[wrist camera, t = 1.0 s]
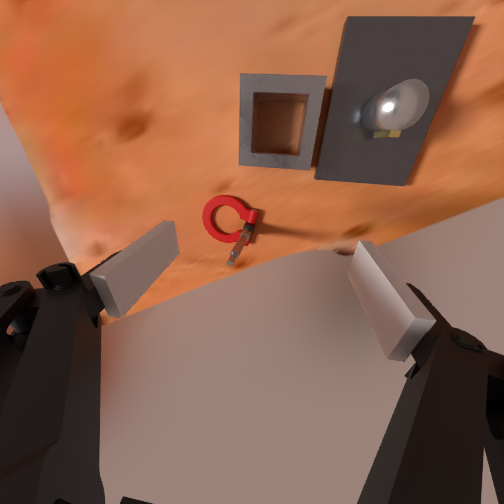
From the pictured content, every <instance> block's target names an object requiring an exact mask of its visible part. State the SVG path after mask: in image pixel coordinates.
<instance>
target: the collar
mask: <svg viewBox="0 0 504 504" xmlns="http://www.w3.org/2000/svg"><path fill="white" fill-rule="evenodd" d="M326 78H327V76H316V75H280V74H243V73H240V119H239V165H243V166H257V167H270V168H284V169H298V170H310V166H311V160H312V155H313V149H314V144H315V138H316V133H317V127H318V122H319V116H320V111H321V105H322V100H323V94H324V89H325V83H326ZM258 100H261V101H286V102H305V103H304V110H303V117H302V124H301V130H300V137H299V144H298V151H297V154H287V153H271V152H256V135H257V117H258Z"/></svg>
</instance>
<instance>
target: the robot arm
mask: <svg viewBox="0 0 504 504" xmlns="http://www.w3.org/2000/svg"><path fill="white" fill-rule="evenodd" d="M178 255H179V247H178V241H177V235H176V229H175V223H174V221H163V222H162V223H160V224H159V225H157V226H156V227H155V228H153V229H152V230H150V231H149V232H148V233H146V234H145V235H143V236H142V237H140V238H139V239H138V240H136V241H135V242H133V243H132V244H131V245H129V246H128V247H126V248H125V249H124V250H121V251H119V252H116V253H114V254H112V255H111V256H109V257H108V258H106V260H104V261H102V262H101V263H100V264H98V265H96V266H95V267H93V268H92V269H91V270H89V271H88V272H86V273H85V274H83V275H82V276H80V274H79V272H78V270H77V268H76V266H75V264H73V263H68V262H66V263H58V264H55V265H51V266H49V267H46V268H44V269H42V270H41V271H39V272H38V273H37V274H36V276H37V277H38V279H39V281H40V282H41V284H42V285H43V287H44V288H41V289H34V288H33V287H32V285H31V284H30V282H28V281H16V282H10V283H8V284H4V285H2V286H1V287H0V504H105V495H104V488H103V484H102V481H101V477H100V471H99V445H100V440H99V439H100V380H101V375H100V374H101V316H100V314H99V313H100V312H101V311H102V310H103V309H104V308H105V309H106V312H107V314H108V316H112V317H118V318H123V317H124V315H125V314H126V313H127V312H128V311H129V310H130V309H131V307H132V306H133V305H134V304H135V303H136V302H137V301H138V300H139V298H140V297H141V296H142V295H143V294H144V293H145V292H146V291H147V289H148V288H149V287H150V286H151V285H152V284H153V283H154V282H155V280H156V279H157V278H158V277H159V276H160V275H161V274H162V273H163V271H164V270H165V269H166V268H167V267H168V266H169V265H170V264H171V262H172V261H173V260H174V259H175V258H176V257H177V256H178ZM347 274H348V276H349V278H350V280H351V282H352V285H353V287H354V289H355V291H356V293H357V295H358V298H359V299H360V302H361V304H362V306H363V308H364V310H365V313H366V315H367V317H368V319H369V321H370V323H371V326H372V328H373V330H374V332H375V334H376V336H377V339H378V341H379V343H380V345H381V347H382V350H383V352H384V354H385V356H386V358H387V359H390V360H397V361H403V362H405V360H406V359H407V358H408V357H409V355H410V354H412V356H413V358H414V360H415V361H416V363H415V364H414V365H413V366H412V367H411V368H410V370H409V371H408V372H407V373H406V374H405V377H407V381H406V383H405V385H404V388H403V390H402V393H401V396H400V398H399V400H398V403H397V405H396V408H395V410H394V413H393V415H392V418H391V420H390V423H389V425H388V428H387V430H386V433H385V435H384V438H383V440H382V443H381V445H380V447H379V450H378V452H377V455H376V457H375V460H374V463H373V465H372V467H371V470H370V472H369V475H368V477H367V480H366V483H365V485H364V487H363V490H362V492H361V495H360V497H359V500H358V502H357V504H481V490H482V472H483V452H484V448H485V452H486V456H487V460H488V464H489V468H490V472H491V476H492V480H493V483H494V487H495V491H496V495H497V499H498V503H499V504H504V355H501V354H498V353H496V352H493V351H490V350H487V348H486V347H485V346H484V344H483V343H482V342H481V341H479V340H478V339H477V338H476V337H474V336H472V335H470V334H469V333H467V332H465V331H462V330H460V329H458V328H453V327H452V326H450V324H449V323H448V322H447V321H446V319H445V318H444V317H443V316H442V315H441V314H440V313H439V311H438V310H437V309H436V308H435V307H434V306H432V304H431V302H429V300H428V299H426V297H425V296H424V295H423V293H422V292H421V291H420V290H419V289H417V288H415V287H414V286H413V285H412V284H409V283H405V282H404V281H403V280H402V278H401V277H400V276H399V275H398V273H397V272H396V271H395V270H394V269H393V267H392V266H391V265H390V264H389V263H388V262H387V260H386V259H385V258H384V257H383V255H382V254H381V253H380V252H379V251H378V249H377V248H376V247H375V246H374V244H373V243H372V242H371V241H361V240H359V242H358V245H357V248H356V250H355V253H354V256H353V259H352V261H351V264H350V267H349V269H348V272H347ZM9 325H10V326H11V327H12V328H13V329H14V331H13V332H12V333H11V334H10V335H8V334H7V333H6V332H7V331H6V330H7V328H8V326H9ZM120 504H152V503H148V502H144V501H140V500H136V499H132V498H128V497H123V498H122V500H121V502H120Z"/></svg>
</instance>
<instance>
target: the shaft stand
mask: <svg viewBox="0 0 504 504" xmlns="http://www.w3.org/2000/svg"><path fill="white" fill-rule="evenodd" d="M474 19H475V17H413V16H348V17H347V19H346V21H345V23H344V27H343V32H342V37H341V42H340V47H339V52H338V58H337V63H336V68H335V73H334V78H333V83H332V88H331V93H330V98H329V103H328V109H327V114H326V119H325V124H324V129H323V134H322V139H321V144H320V149H319V154H318V160H317V165H316V170H315V175H314V178H315V179H316V180H329V181H343V182H356V183H369V184H382V185H395V186H405V184H406V181H407V179H408V176H409V174H410V172H411V169H412V167H413V164H414V162H415V160H416V157H417V155H418V152H419V150H420V148H421V145H422V143H423V141H424V138H425V136H426V133H427V131H428V129H429V126H430V124H431V121H432V119H433V117H434V114H435V112H436V109H437V107H438V105H439V102H440V100H441V97H442V95H443V93H444V90H445V88H446V86H447V83H448V81H449V78H450V76H451V74H452V71H453V69H454V66H455V64H456V62H457V59H458V57H459V54H460V52H461V50H462V47H463V45H464V42H465V40H466V38H467V35H468V33H469V31H470V28H471V26H472V23H473V21H474Z"/></svg>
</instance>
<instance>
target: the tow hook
mask: <svg viewBox="0 0 504 504" xmlns="http://www.w3.org/2000/svg"><path fill="white" fill-rule="evenodd" d="M220 205H228V206H231V207H232V208H234V209H235V210H236V211H237V212H238V214H239V215H240V218H241V219H242V220H245V221H246V223H245V224H244V227H243V230H242V231H241V230H238V231H237V232H235V233H232V234H225V233H222V232H220V231H219V230H218V229H217V228H216V227H215V226H214V224H213V222H212V213H213V211H214V209H215V208H216V207H218V206H220ZM258 212H259V211H258V210H256V209H248V208H246V207H245V205H244V204H243V203H242V202H241V201H240V200H238V199H236V198H235V197H232V196H229V195H220V196H217V197H214V198H213V199H211V200H210V201H209V202H208V203H207V204H206V205H205V207H204V210H203V216H202V218H203V223H204V226H205V228H206V230H207V231H208V233H209V234H210V235H211V236H212V237H213V238H215V239H217V240H219V241H221V242H225V243H232V242H237V243H236V244H235V246H234V248H233V249H232V251H231V253H230V258H229V259H228V261H227V265H229V266H232V265H233V263H234V261H235V259H237V258H238V257H239V255H240V253H241V251H242V249H243V247H244V246H248V245H249V242H250V238H251V236H252V233H253V230H254V227H255V222H256V218H257V215H258Z"/></svg>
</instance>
